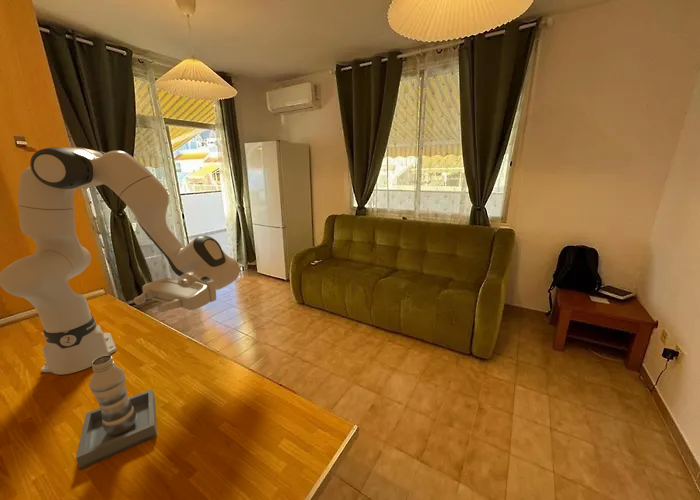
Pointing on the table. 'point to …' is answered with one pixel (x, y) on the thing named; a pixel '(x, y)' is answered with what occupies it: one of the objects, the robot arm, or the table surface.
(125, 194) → the robot arm
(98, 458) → the box
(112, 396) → the plastic bottle
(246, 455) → the table surface
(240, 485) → the table surface
